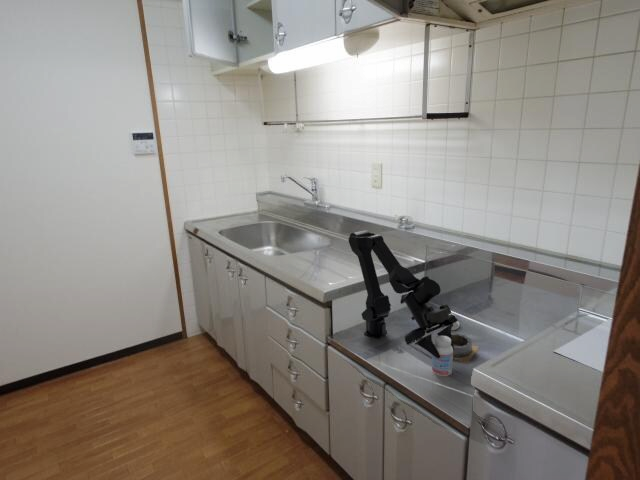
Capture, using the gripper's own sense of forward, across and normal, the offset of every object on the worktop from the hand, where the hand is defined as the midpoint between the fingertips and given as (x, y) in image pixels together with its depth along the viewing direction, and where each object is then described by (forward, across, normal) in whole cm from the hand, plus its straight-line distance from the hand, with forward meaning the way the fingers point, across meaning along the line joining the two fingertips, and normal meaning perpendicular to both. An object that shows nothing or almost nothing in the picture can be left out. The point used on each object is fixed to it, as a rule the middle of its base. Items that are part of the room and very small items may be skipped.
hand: (446, 354), depth 122 cm
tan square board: (0, +13, +9) cm, 16 cm away
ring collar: (0, +13, +9) cm, 16 cm away
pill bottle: (+4, 0, +6) cm, 7 cm away
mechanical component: (-10, +25, +20) cm, 33 cm away
